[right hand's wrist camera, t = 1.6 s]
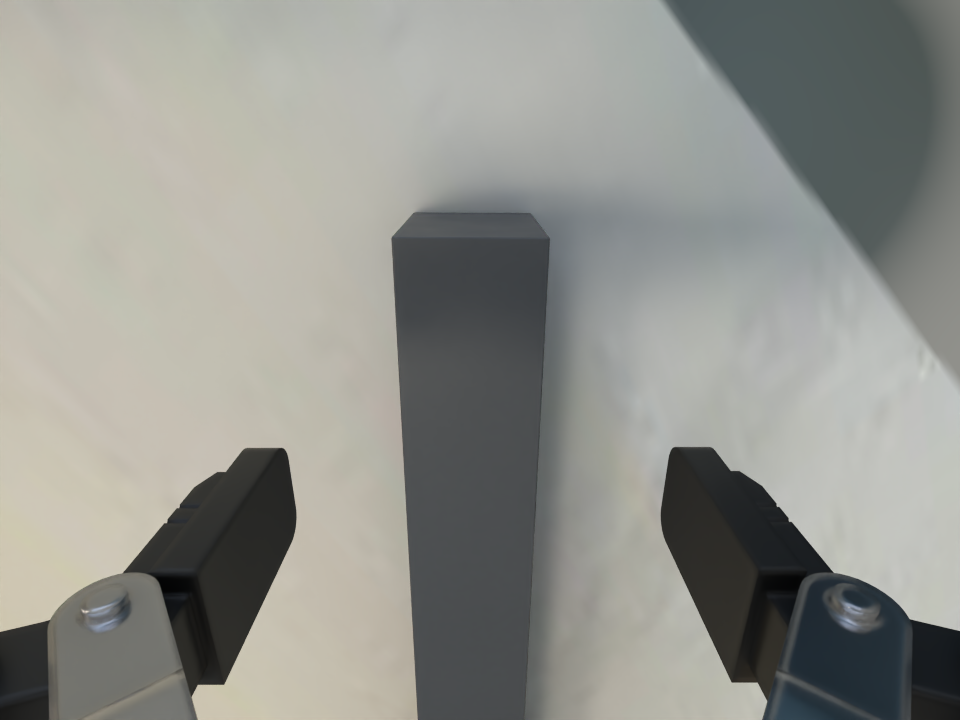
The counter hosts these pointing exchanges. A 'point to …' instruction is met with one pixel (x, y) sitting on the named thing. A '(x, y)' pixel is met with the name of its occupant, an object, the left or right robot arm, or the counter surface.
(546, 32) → the counter surface
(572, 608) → the counter surface
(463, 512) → the post
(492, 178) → the counter surface
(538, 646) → the counter surface
